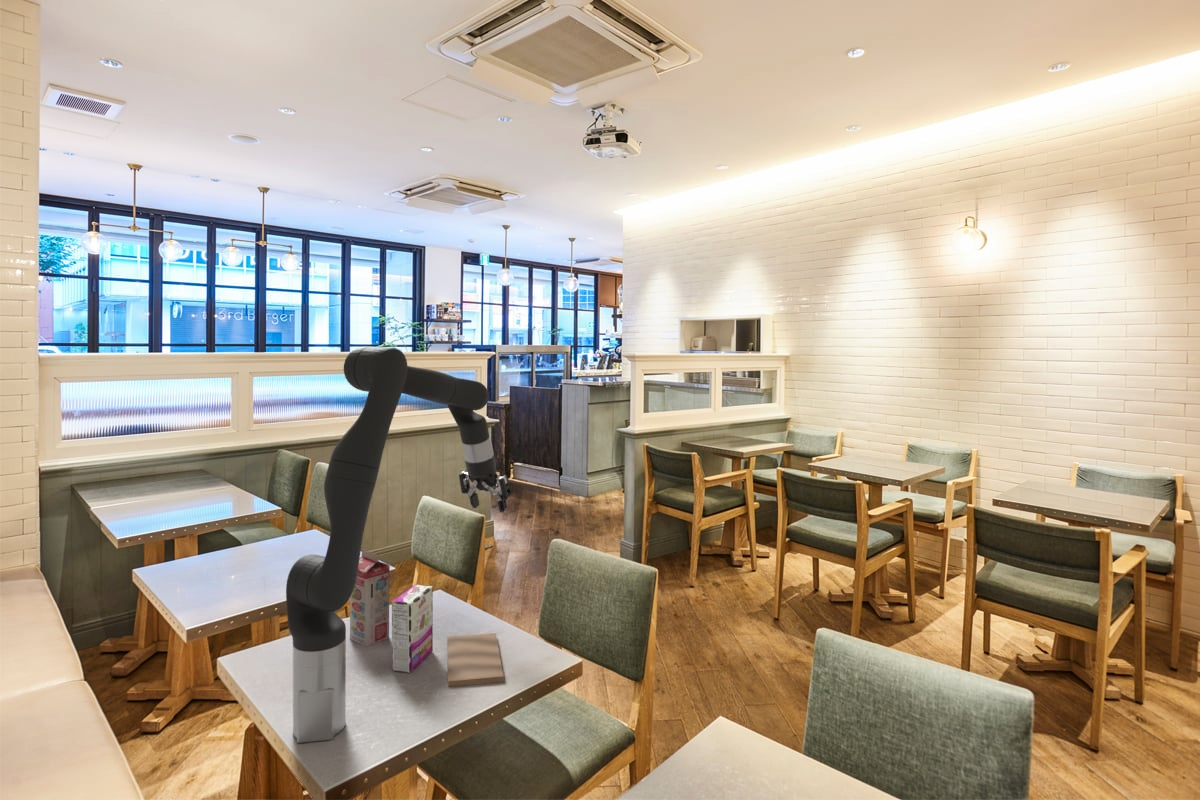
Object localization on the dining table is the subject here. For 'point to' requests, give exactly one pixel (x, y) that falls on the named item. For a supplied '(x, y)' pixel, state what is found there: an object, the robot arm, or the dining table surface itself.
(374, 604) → the juice carton
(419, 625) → the candy bar box
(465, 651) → the walnut board
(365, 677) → the dining table surface
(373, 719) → the dining table surface
